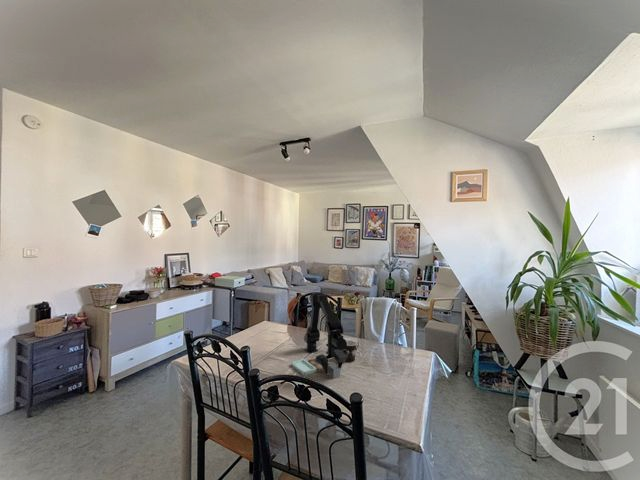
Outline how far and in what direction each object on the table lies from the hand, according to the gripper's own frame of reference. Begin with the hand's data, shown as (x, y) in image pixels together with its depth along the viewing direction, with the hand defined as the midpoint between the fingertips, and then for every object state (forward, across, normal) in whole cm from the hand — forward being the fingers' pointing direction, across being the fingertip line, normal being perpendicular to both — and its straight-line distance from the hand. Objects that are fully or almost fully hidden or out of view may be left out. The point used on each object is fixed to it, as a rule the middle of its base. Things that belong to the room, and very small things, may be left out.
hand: (332, 372), depth 147 cm
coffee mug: (+1, +20, +8) cm, 22 cm away
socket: (+1, 0, +11) cm, 11 cm away
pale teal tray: (+1, -10, +14) cm, 17 cm away
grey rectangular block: (+1, 0, 0) cm, 1 cm away
